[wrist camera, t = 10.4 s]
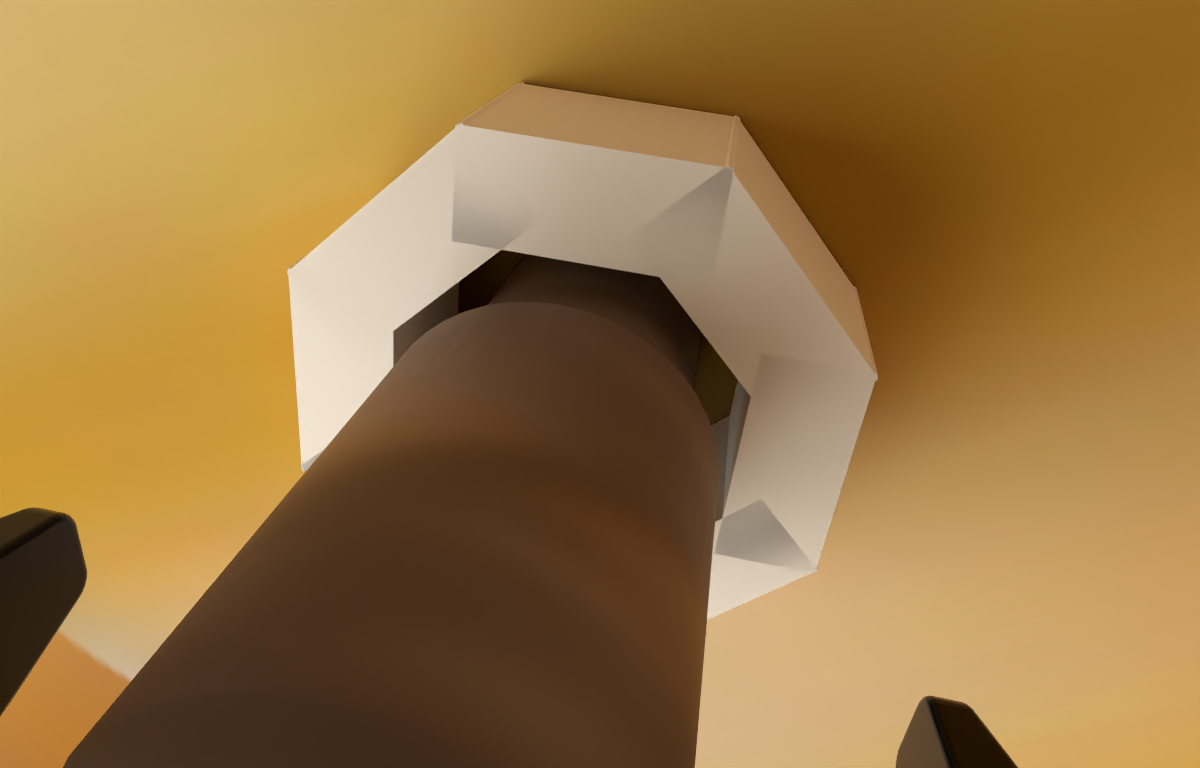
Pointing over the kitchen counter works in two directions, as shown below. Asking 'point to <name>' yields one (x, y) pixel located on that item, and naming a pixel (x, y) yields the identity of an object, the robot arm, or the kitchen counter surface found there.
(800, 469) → the socket collar
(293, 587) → the walnut peg
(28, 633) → the robot arm
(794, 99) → the kitchen counter surface
